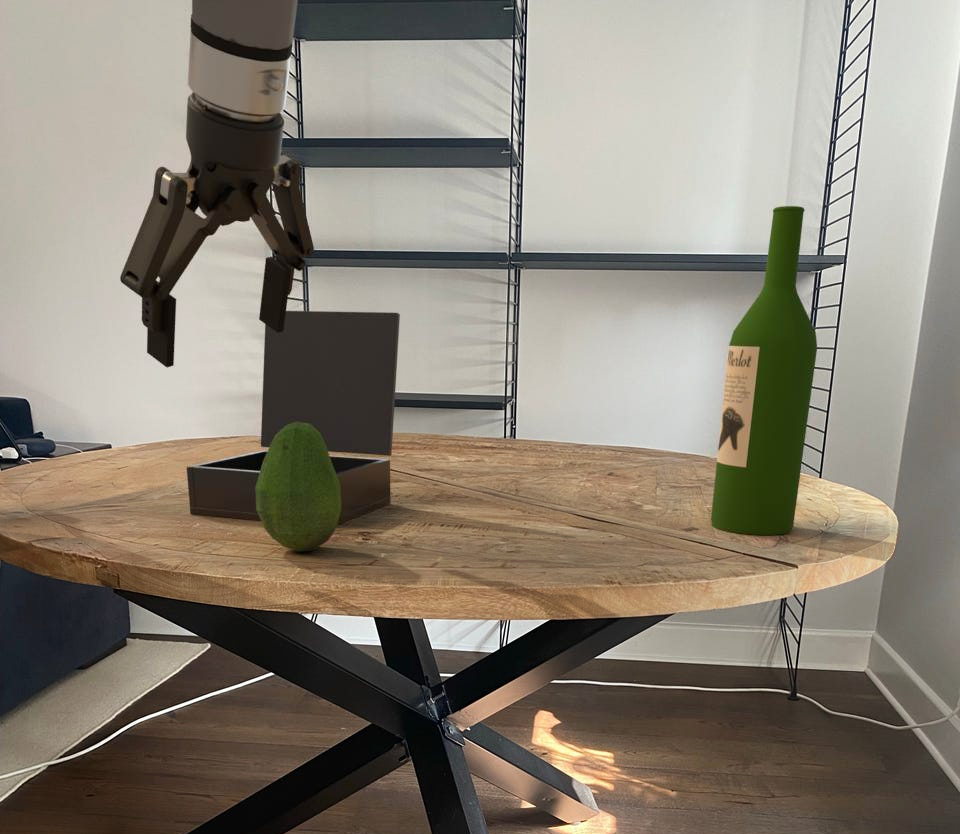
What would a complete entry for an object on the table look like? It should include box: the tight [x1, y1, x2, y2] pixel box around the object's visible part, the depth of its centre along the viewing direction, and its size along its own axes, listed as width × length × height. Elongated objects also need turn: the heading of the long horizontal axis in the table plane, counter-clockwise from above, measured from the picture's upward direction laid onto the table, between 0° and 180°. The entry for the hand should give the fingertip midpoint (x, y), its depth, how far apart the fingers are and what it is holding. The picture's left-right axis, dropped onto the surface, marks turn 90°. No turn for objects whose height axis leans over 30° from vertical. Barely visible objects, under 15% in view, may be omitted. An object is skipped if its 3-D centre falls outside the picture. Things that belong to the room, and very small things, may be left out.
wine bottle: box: [710, 205, 818, 536], centre depth 97 cm, size 9×9×32 cm
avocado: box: [255, 422, 341, 553], centre depth 85 cm, size 8×8×12 cm
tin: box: [186, 450, 392, 526], centre depth 106 cm, size 16×18×5 cm
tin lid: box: [260, 310, 401, 457], centre depth 110 cm, size 16×18×1 cm
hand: (218, 341), depth 87 cm, fingers open, 13 cm apart
